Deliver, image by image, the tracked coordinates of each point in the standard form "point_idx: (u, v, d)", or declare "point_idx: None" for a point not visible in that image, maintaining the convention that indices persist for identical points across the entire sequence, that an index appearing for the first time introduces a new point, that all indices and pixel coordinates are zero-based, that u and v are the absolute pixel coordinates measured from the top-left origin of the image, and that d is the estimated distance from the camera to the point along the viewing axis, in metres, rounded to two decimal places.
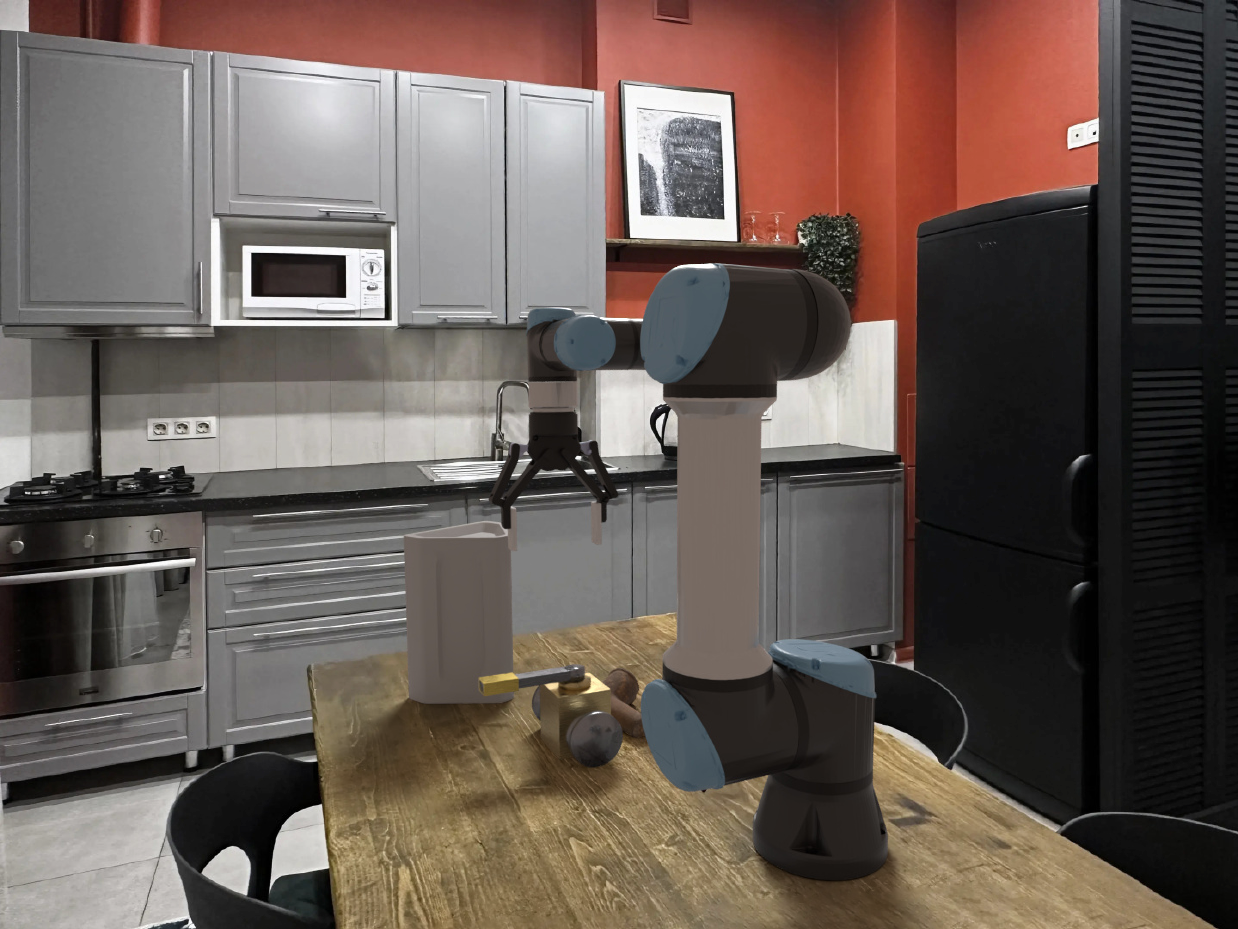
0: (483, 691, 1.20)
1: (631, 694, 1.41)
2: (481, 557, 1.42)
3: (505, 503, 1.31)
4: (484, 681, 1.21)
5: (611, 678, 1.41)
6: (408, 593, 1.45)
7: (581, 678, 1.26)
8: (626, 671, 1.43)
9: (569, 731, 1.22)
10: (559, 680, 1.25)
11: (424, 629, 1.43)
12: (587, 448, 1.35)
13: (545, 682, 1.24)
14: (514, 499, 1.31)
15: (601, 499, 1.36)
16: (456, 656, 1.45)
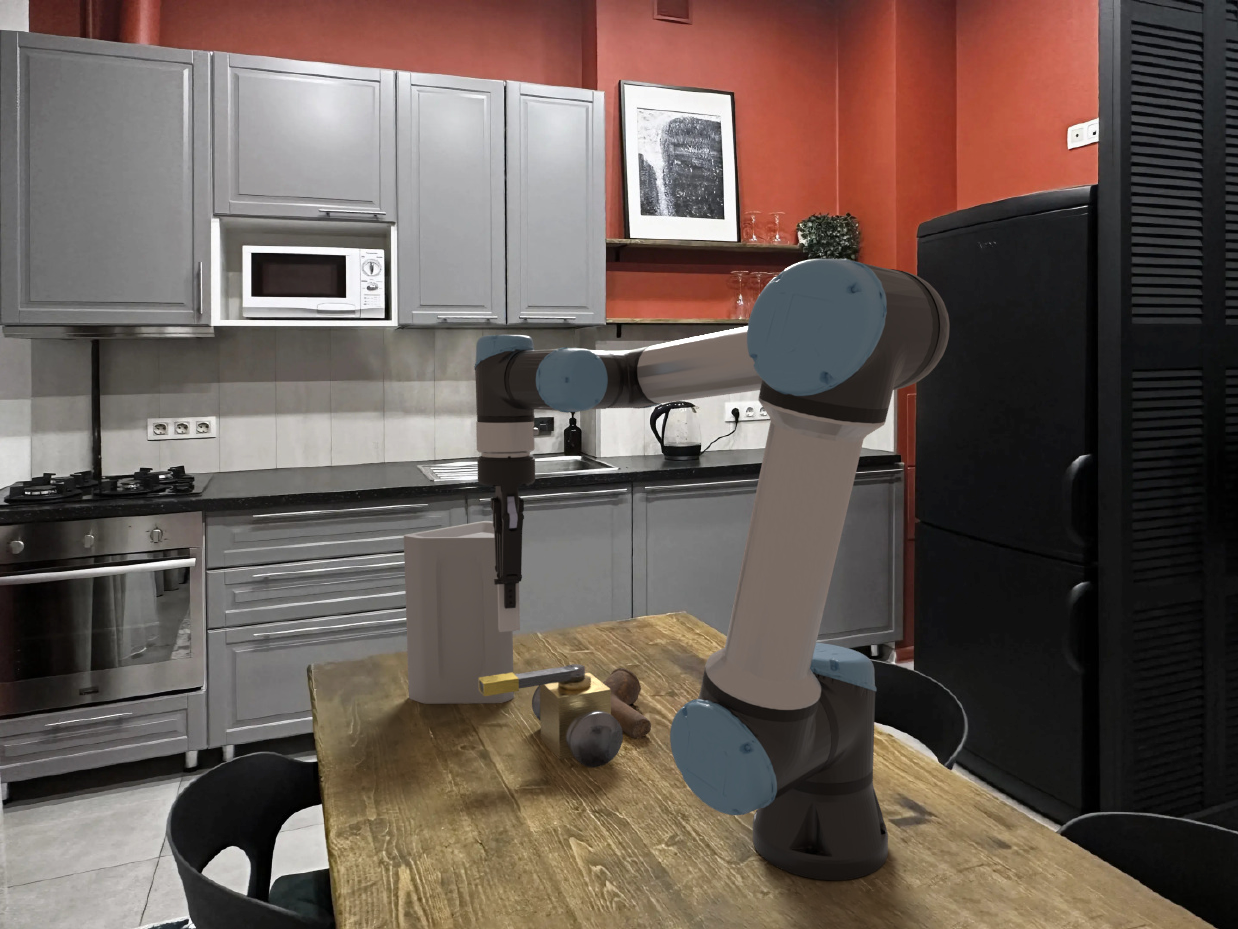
0: (483, 691, 1.20)
1: (633, 694, 1.41)
2: (481, 557, 1.42)
3: (497, 575, 1.16)
4: (484, 681, 1.21)
5: (612, 678, 1.41)
6: (408, 593, 1.45)
7: (581, 678, 1.26)
8: (628, 671, 1.42)
9: (569, 731, 1.22)
10: (559, 680, 1.25)
11: (424, 629, 1.43)
12: None
13: (545, 682, 1.24)
14: (498, 566, 1.16)
15: (499, 577, 1.14)
16: (456, 656, 1.45)
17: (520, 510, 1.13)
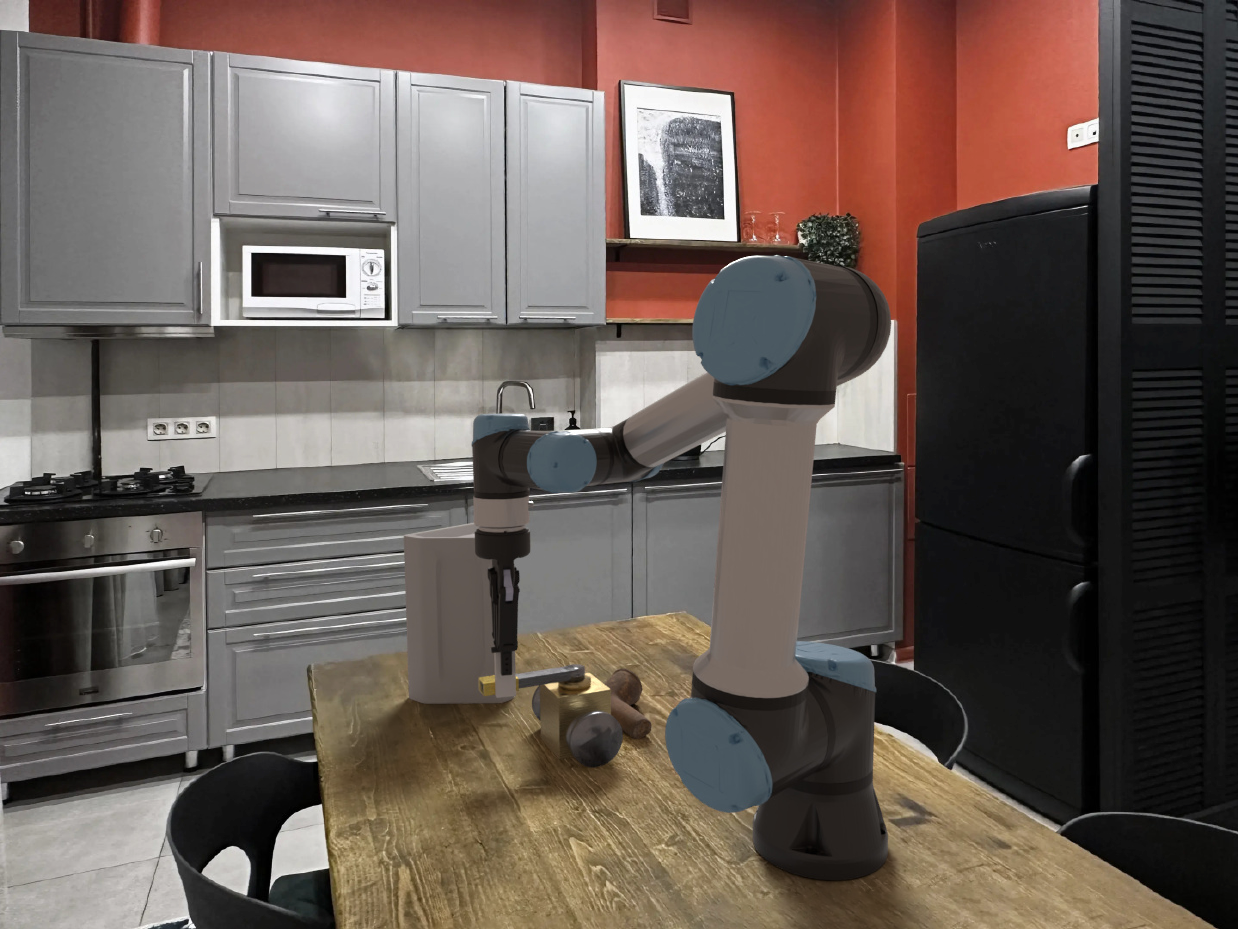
0: (483, 691, 1.20)
1: (634, 695, 1.40)
2: None
3: (494, 642, 1.21)
4: (484, 681, 1.21)
5: (614, 678, 1.41)
6: (408, 593, 1.45)
7: (581, 678, 1.26)
8: (629, 671, 1.42)
9: (569, 731, 1.22)
10: (559, 680, 1.25)
11: (424, 629, 1.43)
12: None
13: (545, 682, 1.24)
14: (494, 634, 1.20)
15: (496, 645, 1.18)
16: (456, 656, 1.45)
17: (516, 581, 1.17)
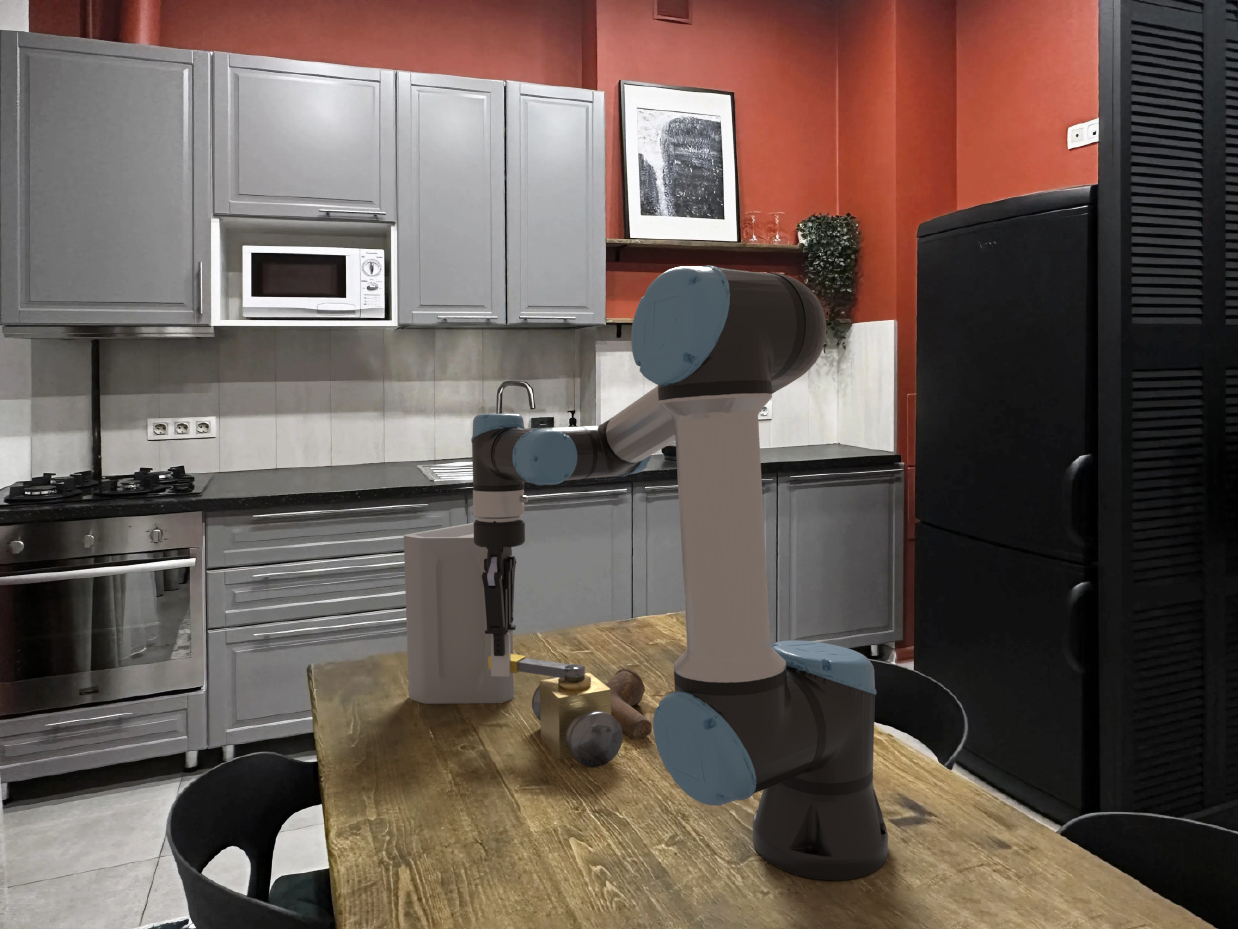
0: None
1: (636, 695, 1.40)
2: (481, 557, 1.42)
3: None
4: None
5: (616, 678, 1.41)
6: (408, 593, 1.45)
7: (573, 679, 1.25)
8: (632, 672, 1.42)
9: (569, 731, 1.22)
10: (554, 675, 1.27)
11: (424, 629, 1.43)
12: None
13: (541, 673, 1.28)
14: None
15: None
16: (456, 656, 1.45)
17: (507, 569, 1.26)
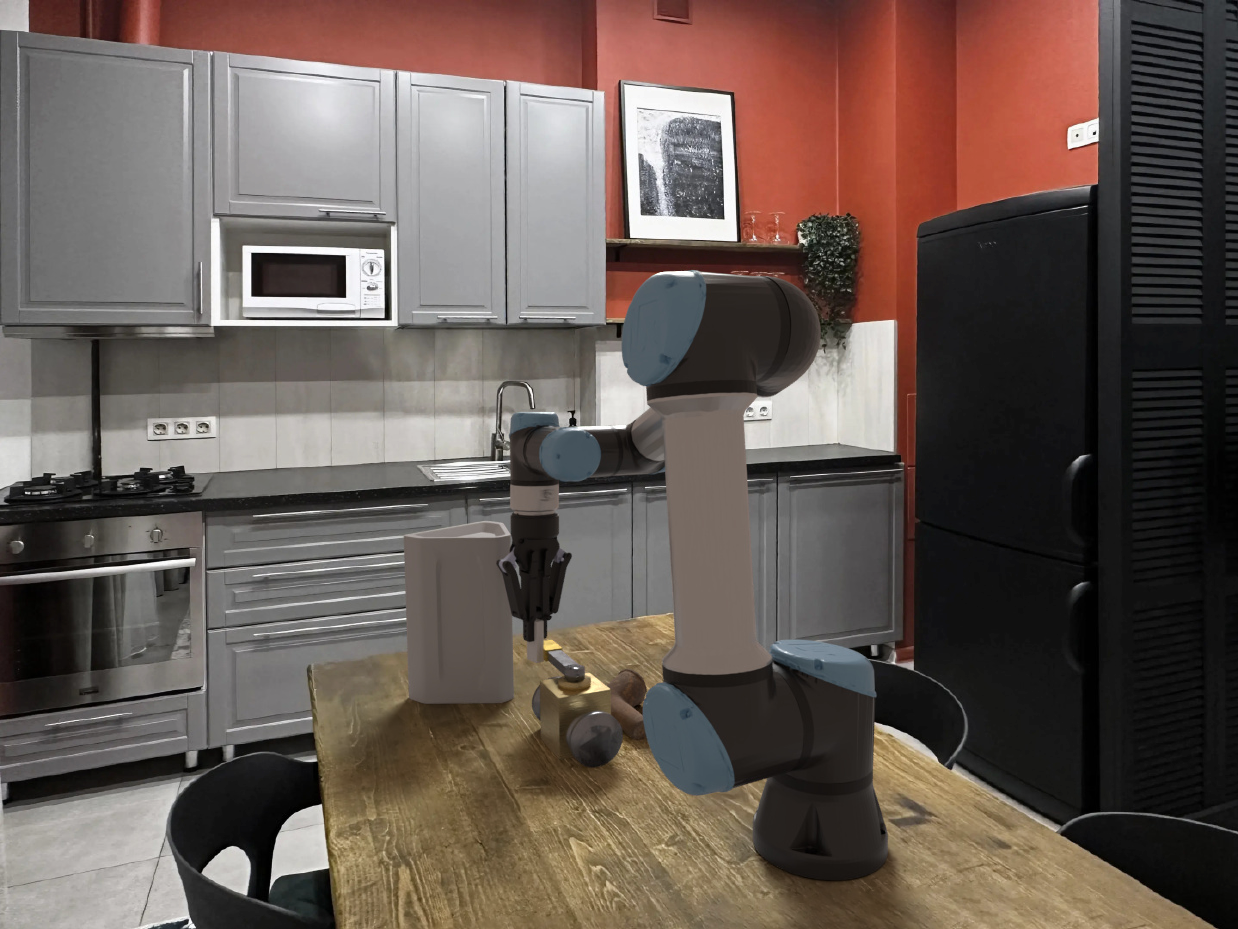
0: None
1: (638, 695, 1.40)
2: (481, 557, 1.42)
3: None
4: None
5: (618, 679, 1.41)
6: (408, 593, 1.45)
7: (566, 678, 1.26)
8: (634, 672, 1.42)
9: (569, 731, 1.22)
10: (561, 670, 1.29)
11: (424, 629, 1.43)
12: None
13: (556, 666, 1.31)
14: None
15: None
16: (456, 656, 1.45)
17: (530, 560, 1.32)
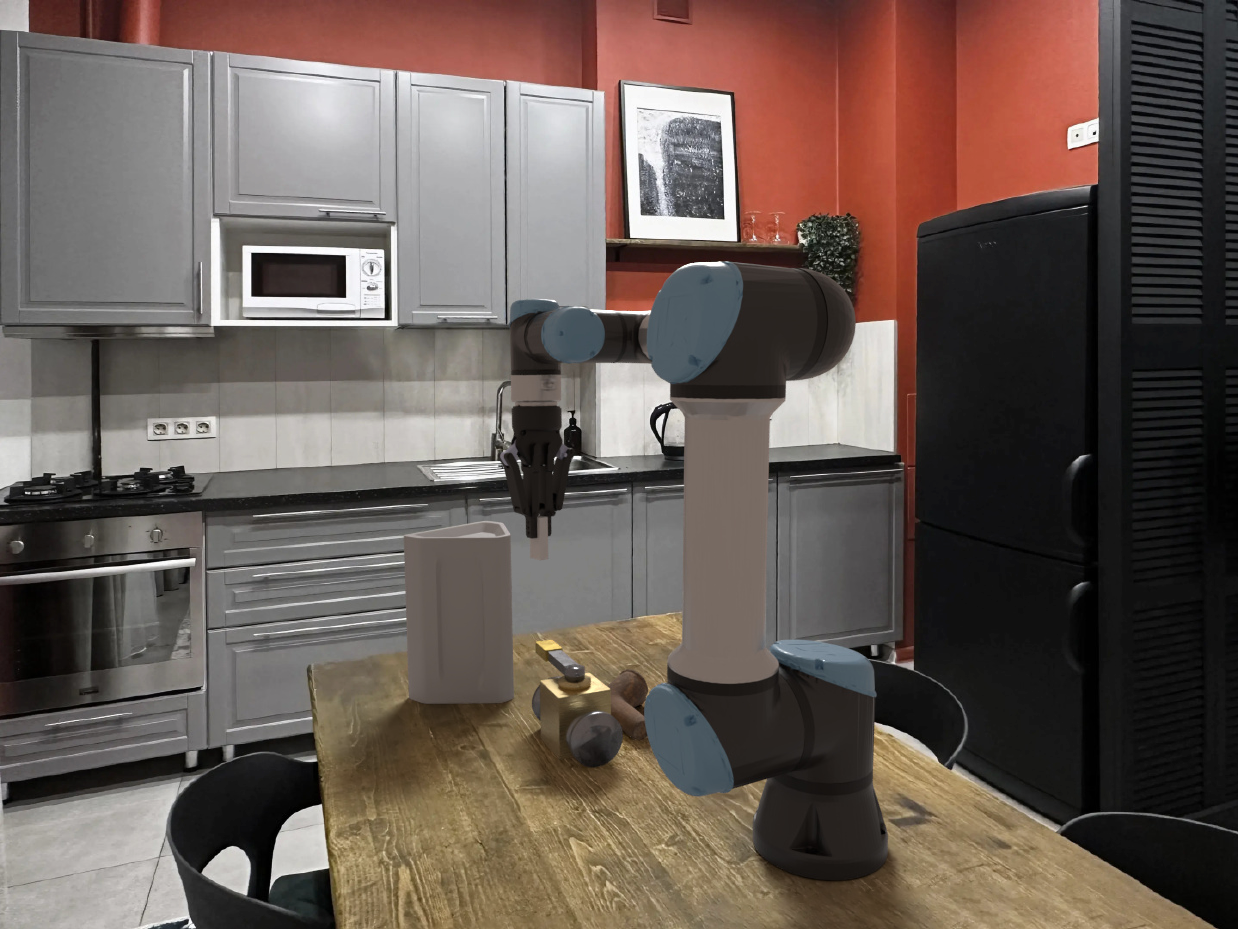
0: None
1: (639, 696, 1.40)
2: (481, 557, 1.42)
3: None
4: (541, 641, 1.39)
5: (619, 679, 1.40)
6: (408, 593, 1.45)
7: (566, 678, 1.26)
8: (635, 672, 1.42)
9: (569, 731, 1.22)
10: (561, 670, 1.29)
11: (424, 630, 1.43)
12: None
13: (556, 666, 1.31)
14: (538, 502, 1.33)
15: None
16: (456, 656, 1.45)
17: (532, 453, 1.29)
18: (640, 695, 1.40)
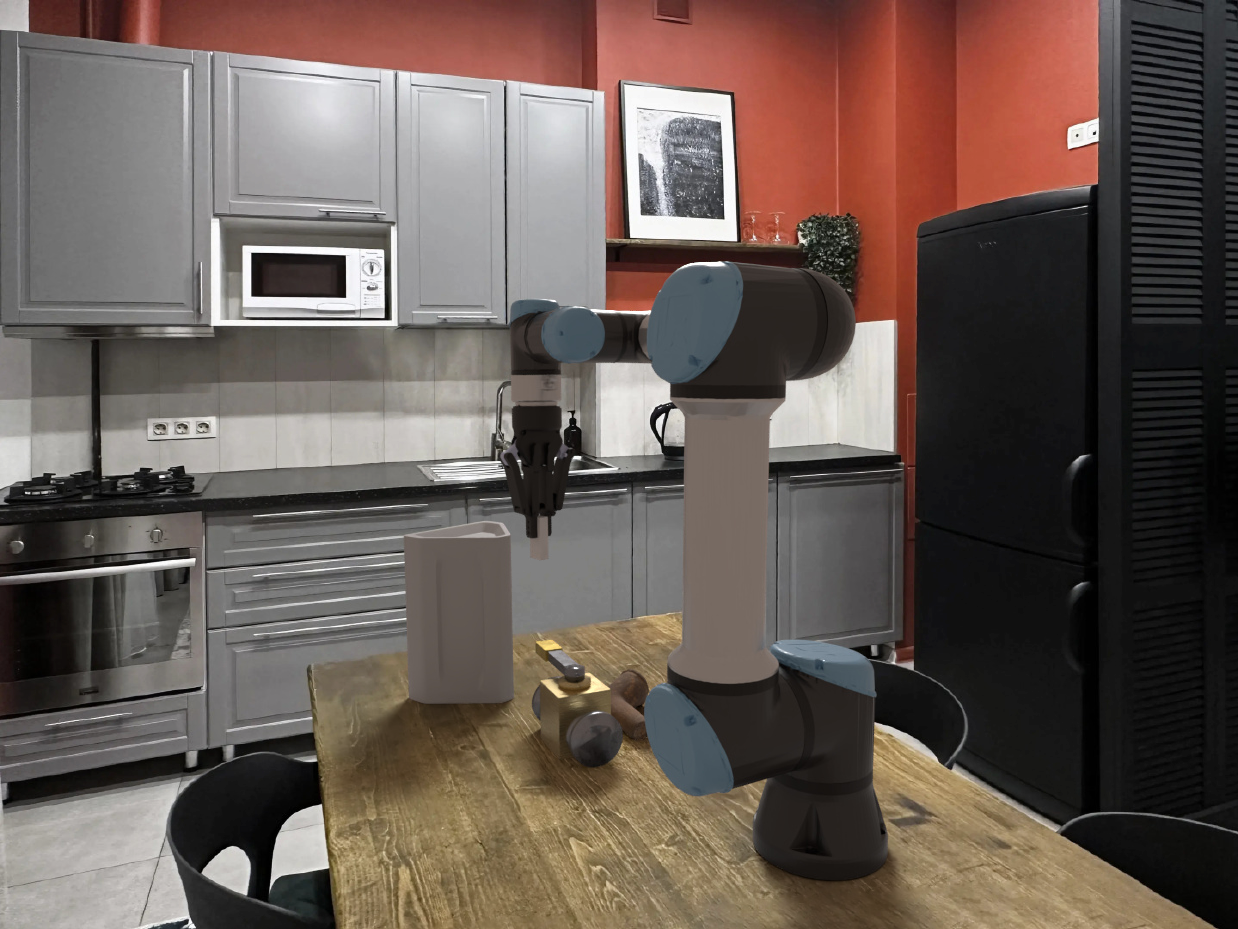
0: None
1: (640, 696, 1.40)
2: (481, 557, 1.42)
3: None
4: (541, 641, 1.39)
5: (620, 679, 1.40)
6: (408, 593, 1.45)
7: (566, 678, 1.26)
8: (636, 672, 1.42)
9: (569, 731, 1.22)
10: (561, 670, 1.29)
11: (424, 629, 1.43)
12: None
13: (556, 666, 1.31)
14: (538, 502, 1.33)
15: None
16: (456, 656, 1.45)
17: (532, 453, 1.29)
18: (641, 695, 1.40)
